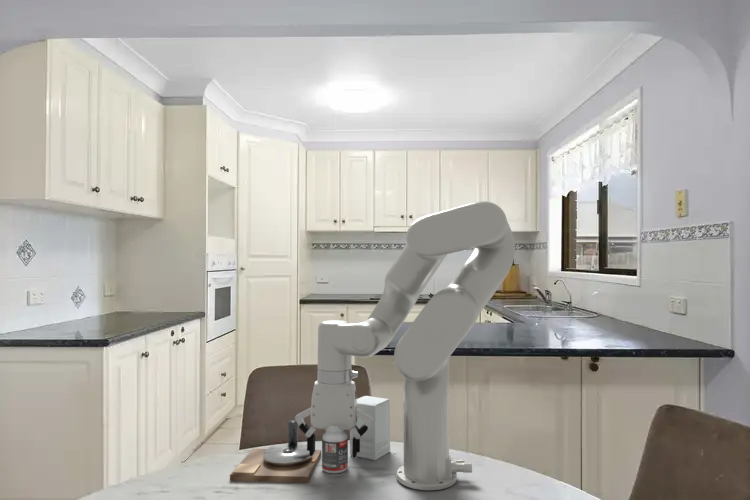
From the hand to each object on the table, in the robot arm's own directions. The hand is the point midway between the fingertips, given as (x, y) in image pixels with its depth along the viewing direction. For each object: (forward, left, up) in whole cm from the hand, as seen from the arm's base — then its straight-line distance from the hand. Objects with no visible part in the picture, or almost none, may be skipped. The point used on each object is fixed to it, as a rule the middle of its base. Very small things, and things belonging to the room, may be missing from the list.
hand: (333, 454), depth 111 cm
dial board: (+12, 0, -3) cm, 13 cm away
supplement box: (-7, -10, -3) cm, 13 cm away
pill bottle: (0, 0, -3) cm, 3 cm away
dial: (+11, -2, -1) cm, 11 cm away
